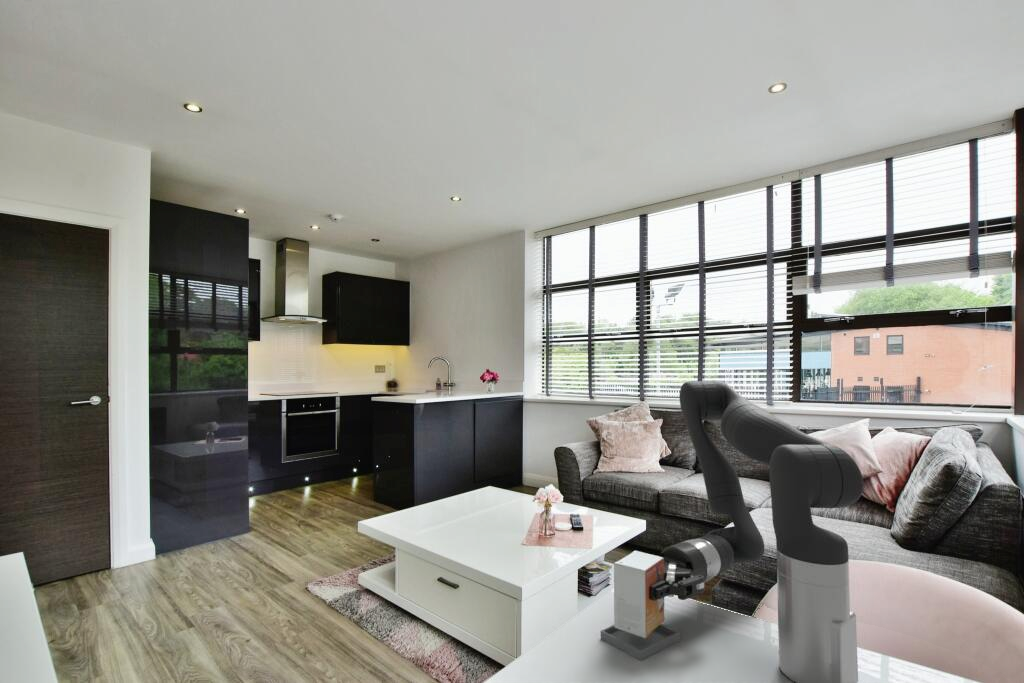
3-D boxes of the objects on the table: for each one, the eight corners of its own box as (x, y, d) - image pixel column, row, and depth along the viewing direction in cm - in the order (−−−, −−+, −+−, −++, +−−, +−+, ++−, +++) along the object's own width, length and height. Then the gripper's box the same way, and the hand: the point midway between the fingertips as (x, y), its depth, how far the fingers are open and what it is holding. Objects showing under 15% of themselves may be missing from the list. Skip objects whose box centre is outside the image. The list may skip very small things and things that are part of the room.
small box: (645, 640, 78) (645, 570, 79) (613, 628, 82) (613, 562, 82) (665, 620, 84) (665, 556, 85) (634, 610, 88) (634, 549, 89)
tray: (679, 640, 83) (679, 632, 83) (640, 660, 76) (640, 652, 76) (639, 620, 89) (639, 613, 89) (600, 638, 83) (600, 630, 83)
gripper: (657, 532, 98) (599, 550, 88) (726, 553, 87) (670, 577, 77) (657, 571, 98) (599, 594, 88) (727, 598, 87) (670, 627, 76)
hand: (632, 586), depth 82 cm, fingers closed on small box, 6 cm apart
